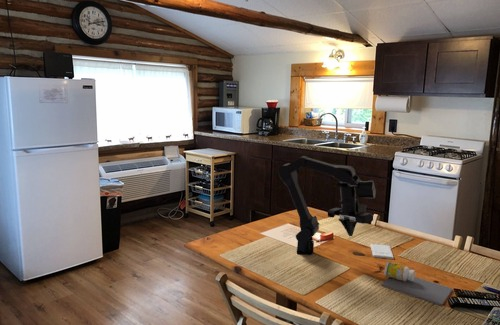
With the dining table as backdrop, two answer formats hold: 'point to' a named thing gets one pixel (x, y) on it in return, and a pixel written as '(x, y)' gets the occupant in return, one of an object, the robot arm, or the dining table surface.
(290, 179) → the robot arm
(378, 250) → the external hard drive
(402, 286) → the mat
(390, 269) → the supplement bottle
